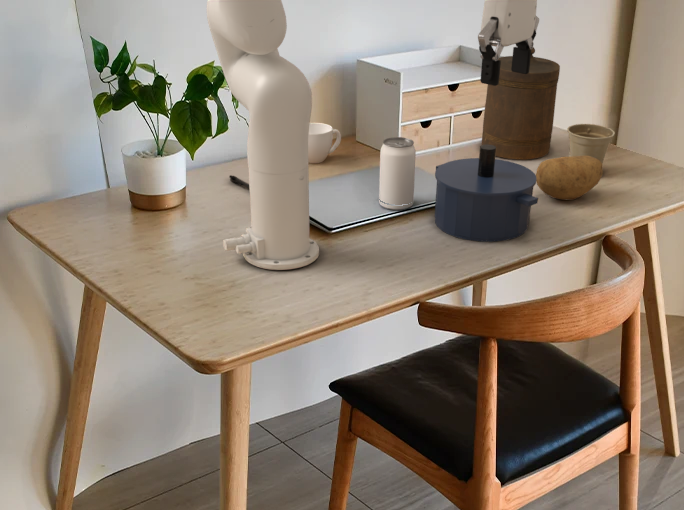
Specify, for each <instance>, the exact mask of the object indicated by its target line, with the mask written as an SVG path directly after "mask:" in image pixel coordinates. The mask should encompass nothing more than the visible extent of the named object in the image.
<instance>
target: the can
mask: <svg viewBox="0 0 684 510" xmlns="http://www.w3.org/2000/svg"><path fill="white" fill-rule="evenodd" d="M414 143H415V141H414V140H413V139H411V138H408V137H403V136H392V137H387V138H385V139H383V141H382V146H381V148H380V150H379V151H380V153H379V156H380V157H379V182H378V183H379V184H378V185H379V188H378V195H379V196H378V203H379V205H380V206H381V207H382V208H383V209H385V210H390V211H405V210H408V209H409V208H411V207H412V206H413V205H414V198H415V197H414V196H415V179H416V156H417V152H416V148H415V145H414ZM379 199H380V200H381V201H383V202H385V203H389V204H395V205H402V204H408V205H403V206H391V205H387V204H384V203H382V202H380V200H379ZM411 202H412V203H411ZM409 203H410V204H409Z"/></svg>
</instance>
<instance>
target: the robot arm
mask: <svg viewBox="0 0 684 510" xmlns="http://www.w3.org/2000/svg"><path fill="white" fill-rule="evenodd" d="M537 5H538V0H484V3H483V10H482V15H481V17H482V18H481V23H480V24H481V25H480V32H479V33H477V40H478V41H477V42H478V50H479V52H480V58H481V69H480V83H481V84H483V85H487V86H488V85H493V86H496V85H498V84H499V75H500V64H501V60H498V59H499V57H501V55H502V52H503V50H504V48H505V47H510V46H512V45H515V46H513V48H512V56H513V57H512V67H511V70H512V72H517V73H522V74H528V73H529V68H530V59H531V50H530V49H532V48H533V47H534V45H535V44H534V40H535V38H536V36H537V30H538V26H539V25H540V17H539V16H537ZM206 20H207V23H208V29H209V32H210V35H211V37H212V41H213V44H214V47H215V50H216V54H217V57H218V60H219V63H220V66H221V70H222V72H223V76H224V78H225V81H226V84H227V86H228V89H229V91H230V92H231V94H232V96H233V97H234V99H236V101H237V102H238V103H240V105H241V106H243V107H244V108H245V109H246V110H247V111H248V115H249V121H248V122H249V124H248V131H247V141H246V157H247V166H248V168H247V169H248V184H249V189H250V190H249V189H248V190H249V207H250V209H249V210H250V226H249V227H245V233H243V234H241V235H240V236H237V237H230V238H224V239H223V240H222V245H223V249H224V251H225V252H229V251H233V250H235V252H236V254H237V255H241V254H242V255H243V258H244V260H245V261H246V262H247V263H249V264H250V265H252V266H255V267H257V268H261V269H265V270H273V271H289V270H294V269H299V268H302V267H306V266H308V265H311V264H312V263H314V262H315V261H316V260H317V259H318V258H319V255H320V247H319V244H318V243H317V242H316V241H315V240H314V239H312V238H310V178H309V177H310V171H309V168H310V167H309V163H308V135H309V124H310V123H311V116H312V109H313V94H312V89H311V85H310V83H309V81H308V79H307V77H306V75H305V74H304V73H303V72H302V71H301V69H300V68H298V67H297V65H295V64H294V63H293V62H290V61H289V60H287V59H286V58H284V57H283V56H281V55H280V51H279V47H280V46H281V45H282V43H283V42H284V40H285V38H286V34H287V27H288V25H287V16H286V11H285V8H284V4H283V1H282V0H207V1H206ZM494 47H495V50H494Z"/></svg>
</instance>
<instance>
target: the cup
mask: <svg viewBox="0 0 684 510" xmlns="http://www.w3.org/2000/svg"><path fill="white" fill-rule="evenodd" d="M334 134H335V136H336V140H335V142H334V144H333V140H334V139H333V138H334ZM341 142H342V134H341V132H340V130H339V129H336V128H333V126H331V124H327V123H323V122H310V124H309V135H308V164H319V163H323V162H324V161H325V160H326V158H327V157H328V155H330V154H332V153H333V152H335V151H336V150H337V149H338V147H339V146H340V144H341Z"/></svg>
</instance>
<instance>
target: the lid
mask: <svg viewBox="0 0 684 510" xmlns="http://www.w3.org/2000/svg"><path fill="white" fill-rule="evenodd" d="M496 157H497V156H496V146H494V145H488V144H486V145H482V144H481V145H480V146H479V155H478V157H469V158H460V159H454V160H450V161H447V162H445V163H442V164H440V165H441V166H439V167H438V168H437V169H436V168H435V171H434V177H435V180H436V182H437V181H438V182H439V183H440V184H442V185H443V186H445V187H447V188H449V189H452V190H455V191H458V192H462V193H467V194H473V195H481V196H505V195H513V194H518V193H522V192H525V191H527V190H529V189H531V188H532V187H533V188H534V187H535V186H536V185H537V182H536V180H537V179H536V173H534V171H532V170H531V169H529V167H526V166H525V165H522V164H519V163H516V162H513V161H508V160H503V159H497V158H496Z"/></svg>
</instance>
